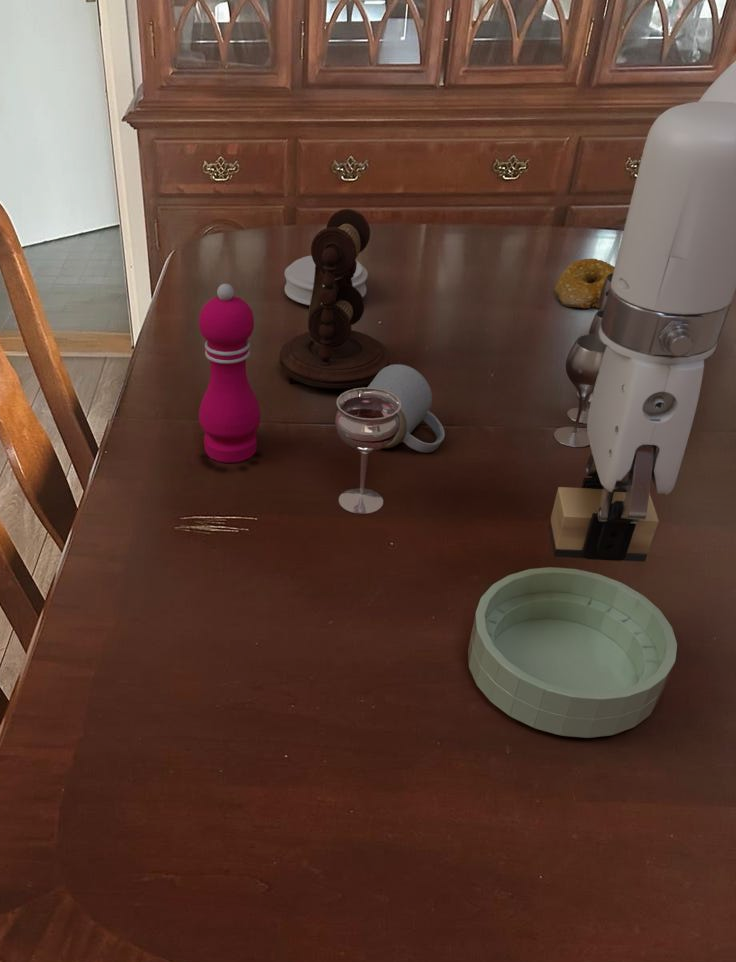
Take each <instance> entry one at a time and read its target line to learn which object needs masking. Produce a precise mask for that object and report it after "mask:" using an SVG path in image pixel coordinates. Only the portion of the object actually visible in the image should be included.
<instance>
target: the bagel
mask: <svg viewBox="0 0 736 962" xmlns="http://www.w3.org/2000/svg"><path fill="white" fill-rule="evenodd" d="M614 268H615V265H614V266H613V265H612V264H610V263H608V262H607V261H604V260H601V259H598V258H584V259H578V260H575V261H573V262H571V263H570V264H569V265H568V267H566V269H564V270H563V271H562V273H561V275H560V276H559V279H558V281H557V283H556V285H555V287H554V293H555V294H556V295H557V296H558V299H559V300H560V302H561V305H563V306H565V307H566V308H578V309H590V308H596V309H599V299H600V294H601V290H602V287H603V284H604V282H605V280H606V277H607V276H608V275H609V274H611V273H613V272H614Z"/></svg>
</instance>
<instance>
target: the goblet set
mask: <svg viewBox="0 0 736 962" xmlns="http://www.w3.org/2000/svg"><path fill="white" fill-rule="evenodd" d="M612 276H613V273H611V274H609V275H608V276H607V277H606V280H605V282H604V284H603V287H602V290H601V294H600V299H599V308H598V310H597V311H596V312H595V315H594V317H593V319H592V321H591V324H590V327H589V330H588V334H584V335H580V336H579V337H578V338H576V340H575V342H574V343H573V345H572V346H571V348H570V350H569V352H568V354H567V357H566V361H565V372H566V375H567V377H568V379H569V380H570V382H571V383H572V385H573V386H574V388H575V389H576V390H577V391H576V397H577V398H578V399H579V402H578V403H579V404H578V407H572V408H570V409H568V411H567V413H566V415H567V417H568V419H569V420H571V421H573V422H575V424H574V426H563V427H559V428H557V429H556V430H554V432H553V437H554V439H555V441H557V442H558V443H559V444H561V445H564V446H566V447H571V448H584V447H588V446H590V442H589V438H588V433H587V429H584V428H580V427H579V424H584V425H585V424H586V425H587V420H588V414H589V408H588V404H589V403H590V404H591V399H592V395H593V391H594V387H595V383H596V380H597V376H598V373H599V369H600V366H601V362H602V359H603V356H604V353H605V349H606V345H605V344H604V343H603V342H602V341H601V339H600V336H599V329H600V325H601V321H602V317H603V313H604V309H605V305H606V301H607V296H608V292H609V288H610V284H611V280H612Z"/></svg>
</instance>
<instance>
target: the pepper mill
mask: <svg viewBox="0 0 736 962" xmlns="http://www.w3.org/2000/svg"><path fill="white" fill-rule="evenodd" d="M216 294H217V296H215V297H213V298H210V299H209V300H208V301H207V302H206V303H205V304H204V305H203V307H202V308H201V310H200V312H199V317H198V327H199V331H200V334H201V335H202V337H203V338H204V339H205V342H204V349H205V351H204V355H205V358H207V359H208V361H209V367H210V374H209V375H210V378H209V381H208V386H207V388H206V391H205V393H204V395H203V397H202V399H201V402H200V406H199V411H198V423H199V427H200V428H201V429H202V430H203V431H204V433H205V434H204V437H203V444H204V452H205V454H206V455H207V456H208V457H209V458H210V459H211V460H214V461H216V462H220V463H224V464H225V463H226V464H227V463H228V464H233V463H241V462H244V461H246V460H249V459H250V458H252V457H254V455H255V453H256V452H257V450H258V439H257V438H258V435H257V433H256V431H257V429H259V426H260V424H261V416H262V415H261V408H260V405H259V402H258V399H257V397H256V395H255V393H254V391H253V389H252V387H251V384H250V382H249V380H248V375H247V366H246V364H247V359H248V358H249V357H250V355H251V349H250V347H251V343H250V340H249V338H251V337H250V336H251V335H252V333H253V331H254V329H255V328H254V327H255V318H254V313H253V309H252V308H251V306H250V305H249V304H248V302H246V301H245V300H244V299H242V298H240V297H238V296H234V294H235V290H234V288H233V286H232V285H231V284H229V283H222V284H220V285H219V286H218V288H217V290H216Z"/></svg>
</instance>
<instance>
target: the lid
mask: <svg viewBox="0 0 736 962" xmlns="http://www.w3.org/2000/svg"><path fill="white" fill-rule="evenodd" d="M356 262H357V267H356V272H355V274H353V275H354V277H353V278H351V280H352V284H353V287H354V288H356V289H357V290H358V291H359V292H360V294H361V295H362V297H363V298H364V297H365V296H366V294H367V286H366V281H367V279H368V270H367V269H366V267H364V266H363V265H362V264H361V263H360V262H359V261H357V260H356ZM314 276H315V263H314V261H313V259H312V255H311V254H310V255H307V256H303V257H300V258H297V259H296V260H294V261H293V262H292V263H291V264H290V265H288V266H287V267H285V270H284V278H285V280H286V283H285V285H284V293H285V295H286V296H287V297H288V298H290V299H291V300H293V301H294V302H296V303H300V304H303V305H306V306H310V302H311V297H312V291H313V285H314ZM323 287H324V285H323ZM321 305H322V303H321Z"/></svg>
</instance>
